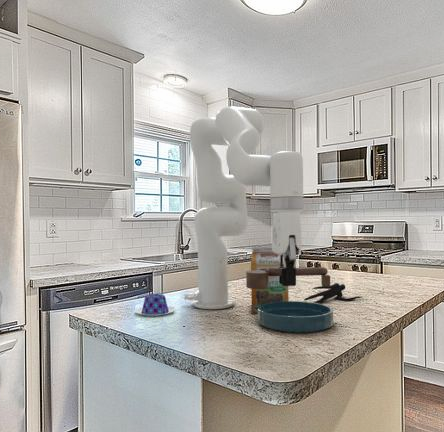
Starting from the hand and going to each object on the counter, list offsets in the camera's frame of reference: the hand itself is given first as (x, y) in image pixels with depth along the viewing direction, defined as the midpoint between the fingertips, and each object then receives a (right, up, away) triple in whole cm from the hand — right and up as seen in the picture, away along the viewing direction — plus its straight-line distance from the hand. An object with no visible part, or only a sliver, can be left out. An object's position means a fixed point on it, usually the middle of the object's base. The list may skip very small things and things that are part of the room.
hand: (287, 284), depth 96 cm
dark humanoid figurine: (+23, -13, +39) cm, 47 cm away
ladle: (0, -1, 0) cm, 1 cm away
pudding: (-34, -13, +28) cm, 46 cm away
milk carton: (+1, -13, +30) cm, 32 cm away
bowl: (+4, -13, +13) cm, 19 cm away
